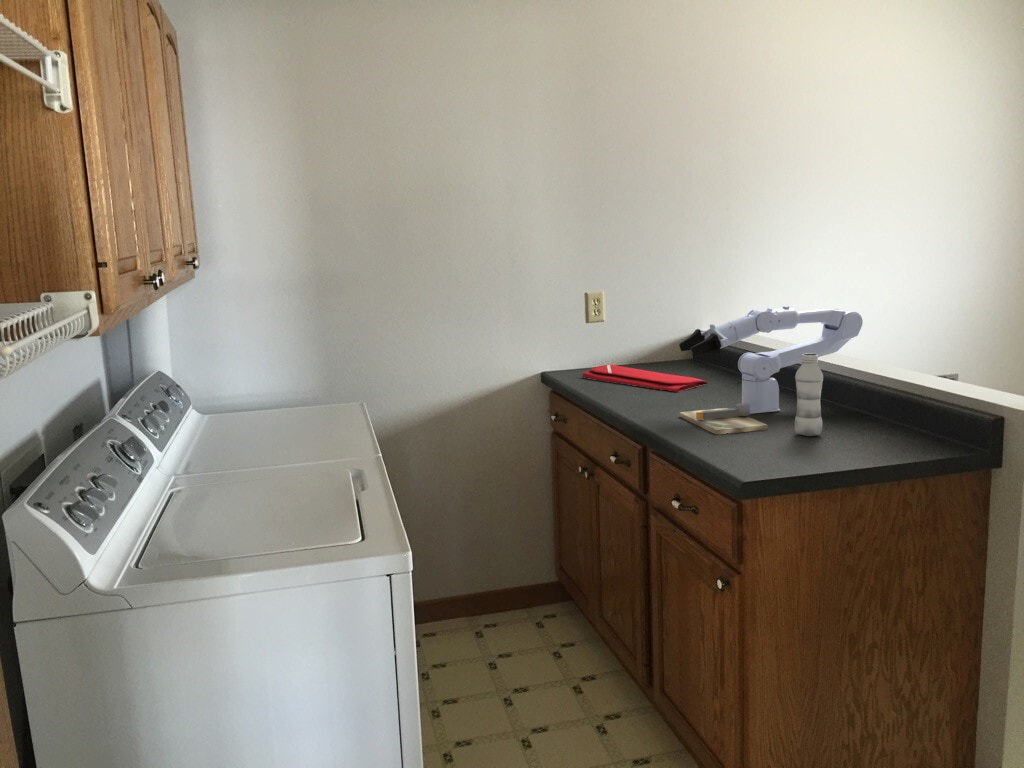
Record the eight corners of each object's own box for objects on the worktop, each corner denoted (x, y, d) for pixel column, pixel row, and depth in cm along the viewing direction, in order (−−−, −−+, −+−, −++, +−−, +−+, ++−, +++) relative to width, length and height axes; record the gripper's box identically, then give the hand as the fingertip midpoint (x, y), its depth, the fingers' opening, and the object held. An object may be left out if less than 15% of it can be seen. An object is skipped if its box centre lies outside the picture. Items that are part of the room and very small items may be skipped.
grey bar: (745, 412, 241) (745, 403, 240) (752, 415, 237) (752, 405, 237) (694, 417, 237) (694, 407, 237) (700, 420, 234) (700, 410, 233)
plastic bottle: (808, 440, 217) (810, 357, 213) (788, 434, 223) (789, 354, 219) (828, 436, 220) (830, 354, 216) (807, 430, 226) (809, 351, 222)
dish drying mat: (677, 394, 278) (677, 382, 278) (581, 379, 309) (581, 369, 308) (708, 387, 289) (708, 375, 288) (612, 373, 319) (612, 363, 318)
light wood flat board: (726, 412, 250) (727, 407, 249) (769, 430, 227) (769, 425, 227) (676, 416, 246) (676, 411, 246) (715, 436, 224) (715, 430, 224)
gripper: (715, 315, 251) (671, 332, 249) (740, 321, 237) (693, 339, 235) (721, 339, 253) (678, 356, 250) (746, 346, 239) (700, 364, 237)
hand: (686, 349), depth 243 cm, fingers open, 7 cm apart
